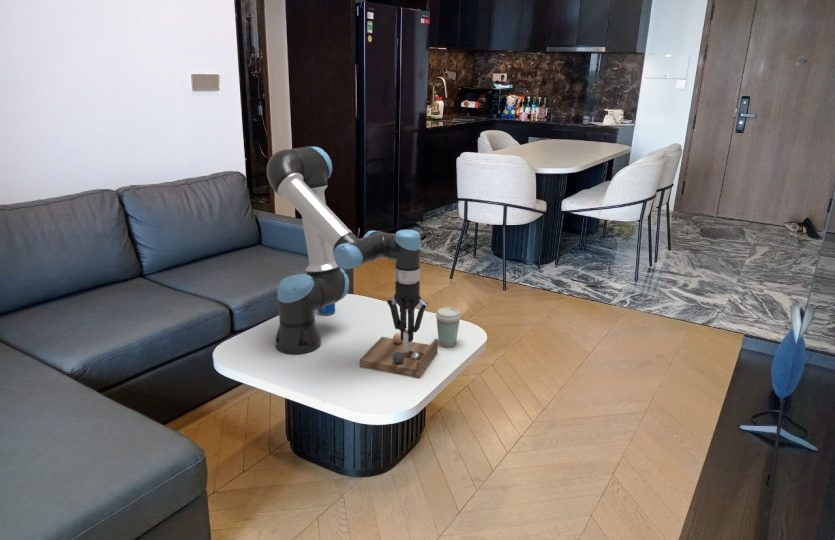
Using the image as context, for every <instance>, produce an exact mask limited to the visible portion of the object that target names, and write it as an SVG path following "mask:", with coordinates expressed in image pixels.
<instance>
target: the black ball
mask: <svg viewBox="0 0 835 540" xmlns="http://www.w3.org/2000/svg"><path fill="white" fill-rule="evenodd" d="M403 360H404V355H403V354H402V353H401V352H396V353H395V354H394V355H393V361H394V362H395V363H401V362H403Z"/></svg>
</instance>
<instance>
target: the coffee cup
mask: <svg viewBox="0 0 835 540" xmlns="http://www.w3.org/2000/svg"><path fill="white" fill-rule="evenodd" d="M435 318H436V325H437V339H438V346H441V347H443V348H451V347H455V346H456V345H457V338H458V331H459V328H460V327H459V326H460V320H461V318H462V315H461V312H460V310H459V309H458V308H455V307H452V306H451V307H449V306H447V307H440V308H439V309H437V311H436V313H435Z"/></svg>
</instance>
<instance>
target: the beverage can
mask: <svg viewBox="0 0 835 540" xmlns="http://www.w3.org/2000/svg"><path fill="white" fill-rule="evenodd" d="M335 311H336V303H333V304H330V305H327V306H325V307H323V308H320V309H318V310H317V312H318V313H319V314H320V315H322V314H323V315H322V316H331V315H333V314H334V313H335ZM332 313H333V314H332ZM330 314H331V315H330Z"/></svg>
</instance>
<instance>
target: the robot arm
mask: <svg viewBox="0 0 835 540" xmlns="http://www.w3.org/2000/svg"><path fill="white" fill-rule="evenodd" d="M332 163H333V162H332V160H331V158H330V156H329V154H328V153H327V152H325V150H324V149H322V148H321V147H318V146H304V147H295V148H289V149H287V148H286V149H281V150H279V151H276V152H274V153H273V154H272V155H271V157H270V158H269V160H268V162H267V165H266V178H267V180H268V183H269V185H270V186H271V188H272V189H273V191H275V193H276V194H277V195H278V196H279V197H280V198H284V199H286V200H287V201H288V202H289V203H290V204H291V205H292V206H293V207H294V208H295V209H296V211H298V213H299V214H300V215H301V219H302V220H301V221H302V224H303V225H302V226H303V233H304V239H305V244H306V250H307V255H308V263H309V264H308V266H307V267H306V268H305V272H306V274H305V273H299V274H298V273H297V274H292V275H288V276H286V277H284V278H282V279H281V280H280V282H278V285H277V294H276V295H277V296H276V297H277V303H278V306H277V307H278V317H279V318H278V319H279V320H278V321H279V325H278V329H277V333H276V336H275V342H274V343H275V348H276V350H277V351H279V352H280V353H283V354H289V355H300V354H303V355H304V354H307V353H310V352H314V351H315V350H317V349H318V348H319V347H320V346H321V345H322V338H321V337H322V336H321V334H320V331H319V328H318V327H317V324H316V318H315V317H316V316H315V315H316V314H315V313H316V312H315V311H318V309H320V308H323V307H325V306H327V305H330V304H333V303H335V304H336V303H337V302H339V301H341V300H342V299H344V298H345V297H346V296H347V294H348V292H349V289H350V279H349V276H348V274H347V273H346V271H345V270H349V269H350V270H351V269H355V268H358V267H360V266H362V265H365V264H366V263H371V262H373V261H376V260H379V259H381V258H385V259H390V260H393V261H395V263H394V264H395V265H394V266H395V273H394V274H395V275H394V276H395V283H394V285H395V288H394V289H395V290H394V292H395V293H394V295H393V297H390V298H389V299H388V300H387V301H386V302H387V305H388V306H389V308H390V312H391V317H392V321H393V325H394V328H395V330H397V331H398V330H399V332H400V333H401V340H402V341H403V351H404V352H408V351H409V350H410V349H411V342H414V341H413V340H414V333H417V332H418V330H419V329H420V327H421V324H422V321H423V317H424V313H425V310H426V308H427V307H428V305H429V304H428V302H424V301H422V298H421V295H420V292H421V289H420V287H421V284H420V283H421V282H420V279H421V264H420V262H421V247H422V243H421V236H420V233H419V231H416V230H414V229H400V230H398V231H396V232H395V234H393V233H389V232H383V231H381V230H369V231H367V232H366V233H365V234H364V236H363V237H362V238H358V237H357V236H356V234H354V233H353V232H352V231H351V230H350V229H349V228H348V227H347V225H346V224H345V223H344V222H343V221H342V220H341V219H340V218H339V217H338V216H337V215H336V214H335V213H334V212H333V211H332V210H331V208H330V207H329V206H328V205H327V203H326V202H327V201H326V197H325V190H326V189H327V188H328V179H330V178H331V175H332V172H333V164H332ZM417 306H418V311H417V315H416V320H415V310H416V308H417ZM398 307H399V310H398Z"/></svg>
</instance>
